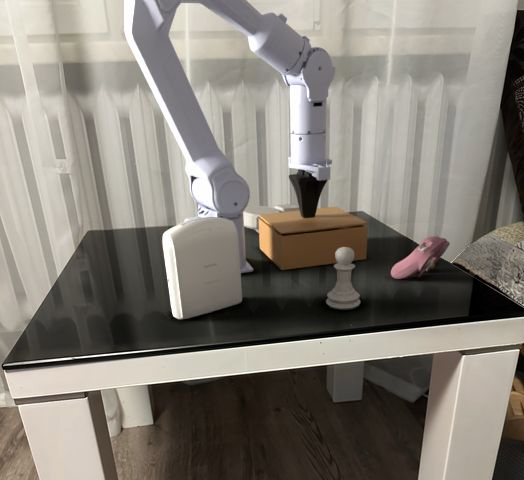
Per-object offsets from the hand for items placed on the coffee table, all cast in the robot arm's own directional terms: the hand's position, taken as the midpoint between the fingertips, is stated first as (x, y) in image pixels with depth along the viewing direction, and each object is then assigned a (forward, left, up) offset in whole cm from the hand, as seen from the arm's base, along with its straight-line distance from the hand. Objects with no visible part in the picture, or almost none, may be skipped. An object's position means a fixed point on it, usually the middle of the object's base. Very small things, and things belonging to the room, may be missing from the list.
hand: (307, 217), depth 93 cm
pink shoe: (+12, -18, -6) cm, 22 cm away
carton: (0, -2, -6) cm, 6 cm away
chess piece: (-4, -25, -6) cm, 26 cm away
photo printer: (-22, -20, -6) cm, 30 cm away
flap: (0, +2, 0) cm, 2 cm away
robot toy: (-1, +17, -6) cm, 19 cm away
